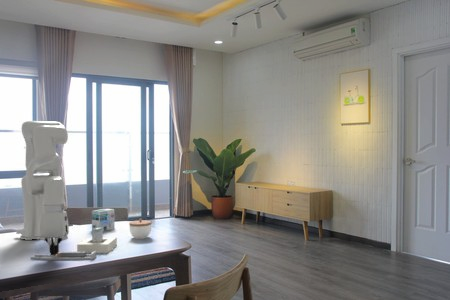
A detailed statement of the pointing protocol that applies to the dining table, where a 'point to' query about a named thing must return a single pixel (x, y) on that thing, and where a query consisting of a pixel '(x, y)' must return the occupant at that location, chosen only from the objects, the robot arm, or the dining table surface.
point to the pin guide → (54, 257)
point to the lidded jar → (140, 228)
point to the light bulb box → (103, 219)
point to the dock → (97, 245)
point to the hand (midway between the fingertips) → (54, 254)
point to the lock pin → (71, 254)
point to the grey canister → (97, 235)
